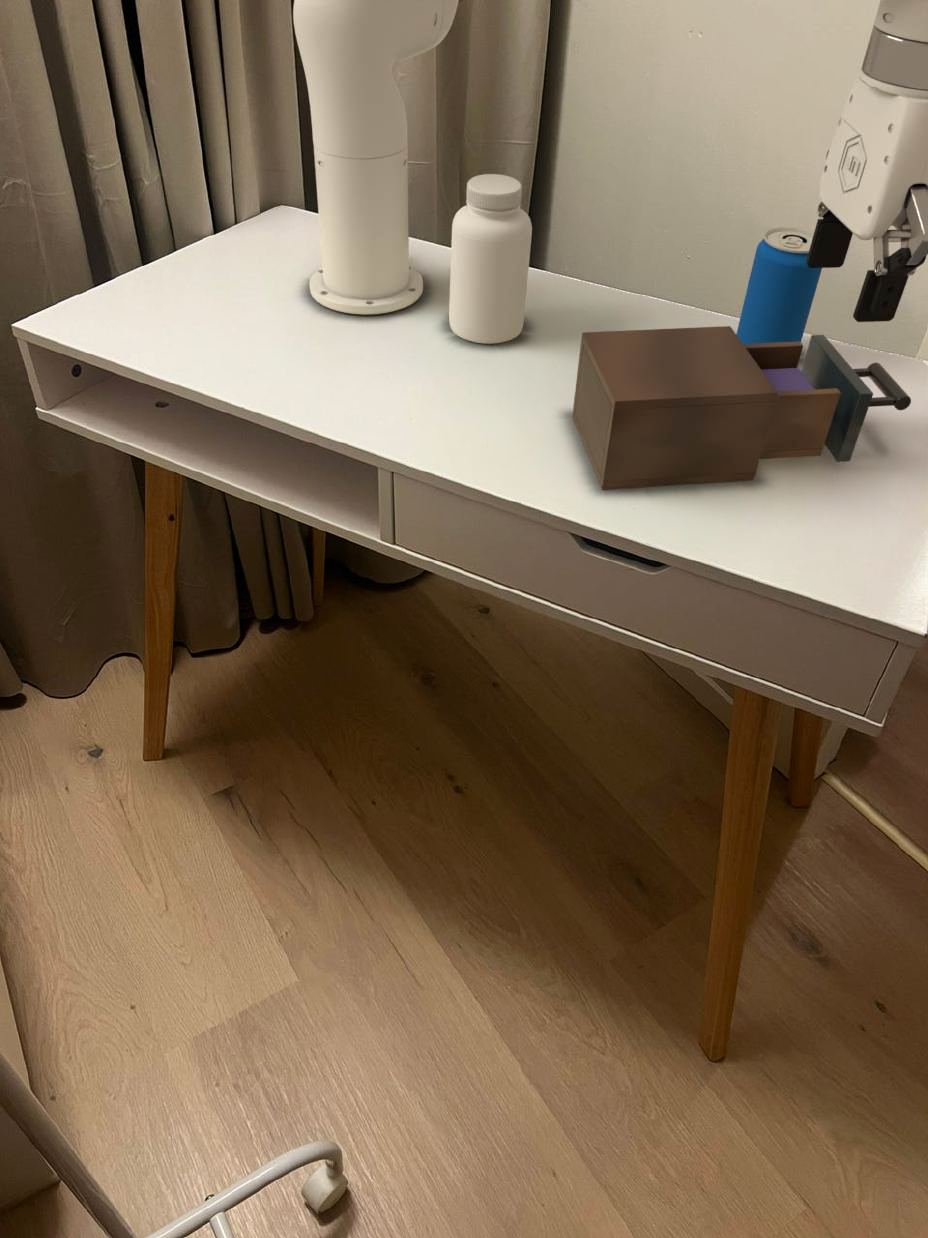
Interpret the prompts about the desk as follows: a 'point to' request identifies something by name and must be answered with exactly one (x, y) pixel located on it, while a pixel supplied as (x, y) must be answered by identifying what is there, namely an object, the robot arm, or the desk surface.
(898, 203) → the robot arm
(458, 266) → the pill bottle
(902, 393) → the drawer
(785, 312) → the beverage can
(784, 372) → the block
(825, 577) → the desk surface
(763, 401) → the wooden drawer cabinet
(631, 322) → the desk surface
